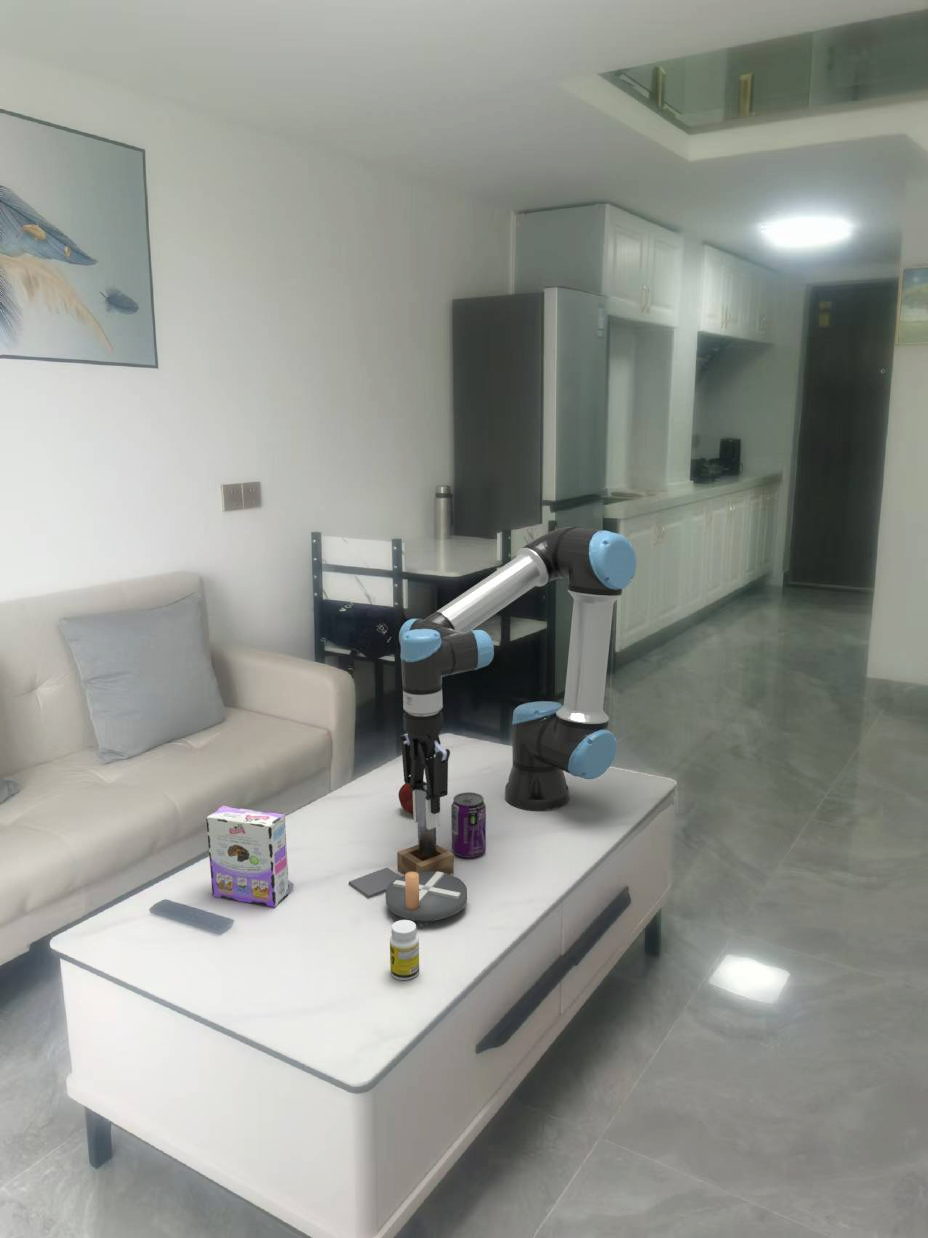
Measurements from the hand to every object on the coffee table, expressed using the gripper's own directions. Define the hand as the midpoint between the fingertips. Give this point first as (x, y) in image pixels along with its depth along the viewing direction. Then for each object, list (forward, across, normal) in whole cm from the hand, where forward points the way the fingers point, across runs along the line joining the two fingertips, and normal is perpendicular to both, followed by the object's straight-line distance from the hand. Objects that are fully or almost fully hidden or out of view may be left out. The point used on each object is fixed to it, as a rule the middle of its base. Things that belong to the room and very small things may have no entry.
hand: (426, 823), depth 182 cm
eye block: (+10, 0, -1) cm, 10 cm away
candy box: (+10, -14, -32) cm, 36 cm away
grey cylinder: (+6, 0, 0) cm, 6 cm away
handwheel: (+8, +11, -9) cm, 16 cm away
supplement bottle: (+10, +25, -24) cm, 36 cm away
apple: (+11, -24, +14) cm, 30 cm away
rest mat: (+10, -2, -11) cm, 15 cm away
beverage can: (+11, -1, +11) cm, 16 cm away
